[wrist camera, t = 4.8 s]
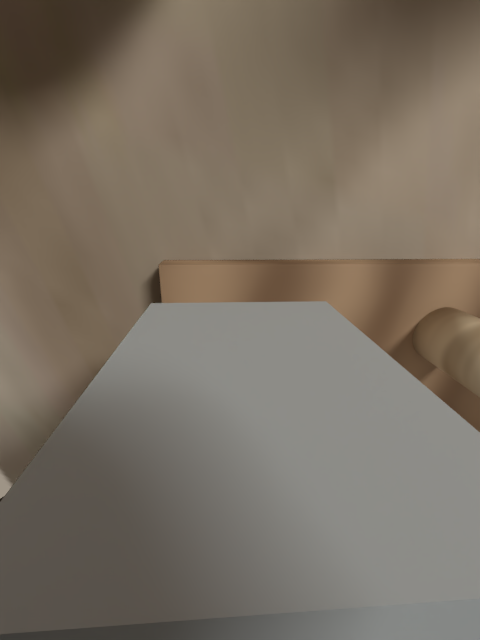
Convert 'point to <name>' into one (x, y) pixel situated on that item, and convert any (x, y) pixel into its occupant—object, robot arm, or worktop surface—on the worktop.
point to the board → (348, 300)
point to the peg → (451, 344)
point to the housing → (247, 491)
